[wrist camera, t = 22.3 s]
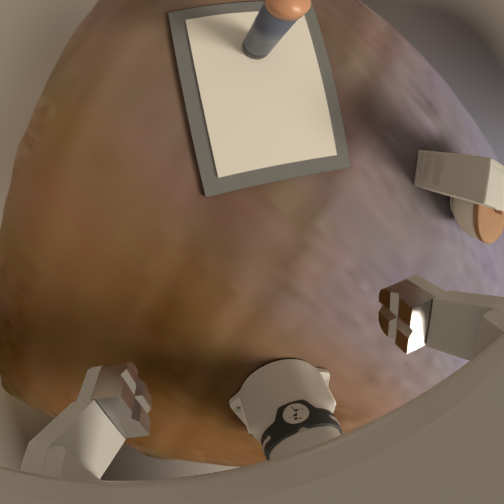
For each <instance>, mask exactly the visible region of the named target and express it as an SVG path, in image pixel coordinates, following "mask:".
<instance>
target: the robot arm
mask: <svg viewBox="0 0 504 504" xmlns="http://www.w3.org/2000/svg"><path fill="white" fill-rule="evenodd" d="M379 302H380V303H381V304H382V307H381V309H380V311H379V323H380V326H381V329H382V330H383V332H384V333H385V334H386V335H387V336H388V337H391V338H395V344H396V345H397V346H398V347H399V348H400V349H401V350H402V351H403V352H405V353H406V354H408V353H410V352H412V351H414V350H416V349H418V348H420V347H422V346H424V345H426V346H428V347H431V348H434V349H437V350H440V351H442V352H445V353H448V354H451V355H454V356H457V357H460V358H463V359H466V360H469V362H468V363H467V364H465V365H464V366H463V367H461V368H460V369H459V370H457V371H456V372H454V373H453V374H452V375H450V376H449V377H447V378H446V379H444V380H443V381H441V382H440V383H438V384H437V385H435V386H434V387H432V388H430V389H429V390H427V391H426V392H424V393H422V394H421V395H419V396H418V397H416V398H414V399H412V400H411V401H409V402H407V403H406V404H404V405H402V406H400V407H398V408H397V409H395V410H393V411H391V412H389V413H387V414H385V415H383V416H381V417H379V418H377V419H375V420H373V421H371V422H369V423H367V424H365V425H363V426H361V427H359V428H356V429H354V430H352V431H350V432H347V433H345V434H343V435H342V430H341V428H340V426H339V422H338V421H337V419H336V418H335V417H334V415H333V412H334V410H335V406H336V401H335V399H334V397H333V395H332V393H331V391H330V390H329V388H328V383H329V378H330V374H329V371H328V370H327V369H322V368H316V367H314V366H312V365H311V364H309V363H307V362H305V361H302V360H297V359H285V360H279V361H275V362H272V363H269V364H267V365H265V366H263V367H261V368H259V369H258V370H256V371H255V372H253V373H252V374H251V375H250V376H249V377H248V378H247V379H246V381H245V382H244V384H243V385H242V387H241V389H240V391H239V392H238V393H237V394H235V395H234V396H233V397H232V398H231V399H230V400H229V405H230V407H231V409H232V410H233V411H234V412H235V413H236V415H237V416H238V417H239V418H240V419H241V421H242V422H243V423H244V424H245V425H246V427H247V430H248V432H249V434H252V435H253V436H254V437H255V438H256V439H257V440H258V441H259V442H260V443H261V444H262V450H263V453H264V455H265V457H266V459H267V461H264V462H260V463H256V464H252V465H248V466H244V467H239V468H235V469H230V470H225V471H220V472H214V473H208V474H202V475H195V476H188V477H180V478H171V479H161V480H160V479H159V480H143V481H101V480H100V478H101V476H102V475H103V473H104V471H105V470H106V469H107V467H108V466H109V464H110V462H111V461H112V459H113V458H114V456H115V455H116V453H117V452H118V450H119V449H120V447H121V446H122V444H123V443H124V441H125V440H126V439H125V438H131V437H139V436H146V435H149V433H150V418H149V416H148V415H147V413H148V412H149V410H150V409H151V397H150V392H149V390H148V387H147V385H146V384H145V382H144V381H143V380H141V379H139V378H138V370H137V368H136V366H135V365H134V363H132V362H130V361H129V362H123V363H117V364H110V365H104V366H97V367H91V368H90V369H88V371H87V374H86V376H85V379H84V382H83V385H82V387H81V390H80V393H79V396H78V399H77V401H76V402H72V403H71V404H70V405H69V406H68V407H67V408H66V409H64V410H63V411H62V412H61V413H60V414H59V415H58V416H57V417H56V418H55V419H54V420H53V421H52V422H51V423H49V424H48V425H47V426H46V427H45V428H44V429H43V430H42V431H41V432H40V433H39V434H38V435H37V436H36V437H35V438H33V439H32V440H31V441H30V442H29V444H28V447H27V450H26V452H25V455H24V459H23V462H22V465H21V468H20V471H17V470H13V469H9V468H4V467H1V466H0V504H504V297H498V296H490V295H482V294H474V293H466V292H458V291H450V290H449V291H447V292H446V291H444V290H442V289H441V288H439V287H437V286H436V285H434V284H432V283H431V282H429V281H427V280H426V279H424V278H422V277H420V276H419V275H413V276H411V277H409V278H407V279H404V280H403V281H401V282H398V283H396V284H394V285H391V286H389V287H386V288H384V289H381V290H380V293H379ZM238 406H239V407H238Z"/></svg>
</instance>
